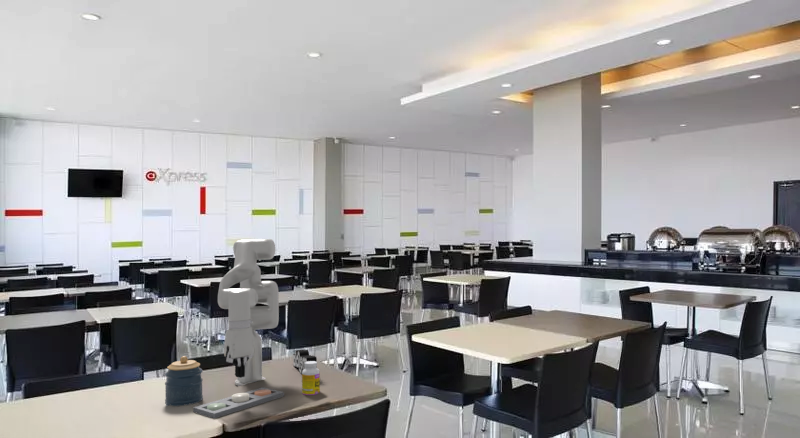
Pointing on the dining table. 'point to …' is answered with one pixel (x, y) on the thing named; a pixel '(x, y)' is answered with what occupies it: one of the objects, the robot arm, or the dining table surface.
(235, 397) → the button cream
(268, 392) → the button terracotta
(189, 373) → the canister
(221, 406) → the button sage
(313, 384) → the supplement bottle
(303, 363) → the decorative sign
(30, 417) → the dining table surface
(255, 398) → the button panel
